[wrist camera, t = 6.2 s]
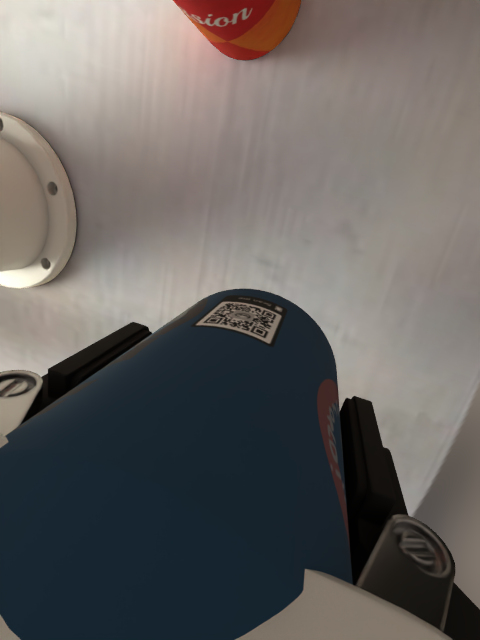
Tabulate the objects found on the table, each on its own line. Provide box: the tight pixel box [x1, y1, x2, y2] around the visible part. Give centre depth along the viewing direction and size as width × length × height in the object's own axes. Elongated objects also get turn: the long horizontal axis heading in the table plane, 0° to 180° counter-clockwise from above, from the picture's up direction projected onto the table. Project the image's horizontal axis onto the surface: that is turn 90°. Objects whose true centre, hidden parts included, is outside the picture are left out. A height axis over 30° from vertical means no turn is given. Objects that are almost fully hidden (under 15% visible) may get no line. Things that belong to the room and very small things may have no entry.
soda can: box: [0, 289, 353, 640], centre depth 9 cm, size 7×7×12 cm
